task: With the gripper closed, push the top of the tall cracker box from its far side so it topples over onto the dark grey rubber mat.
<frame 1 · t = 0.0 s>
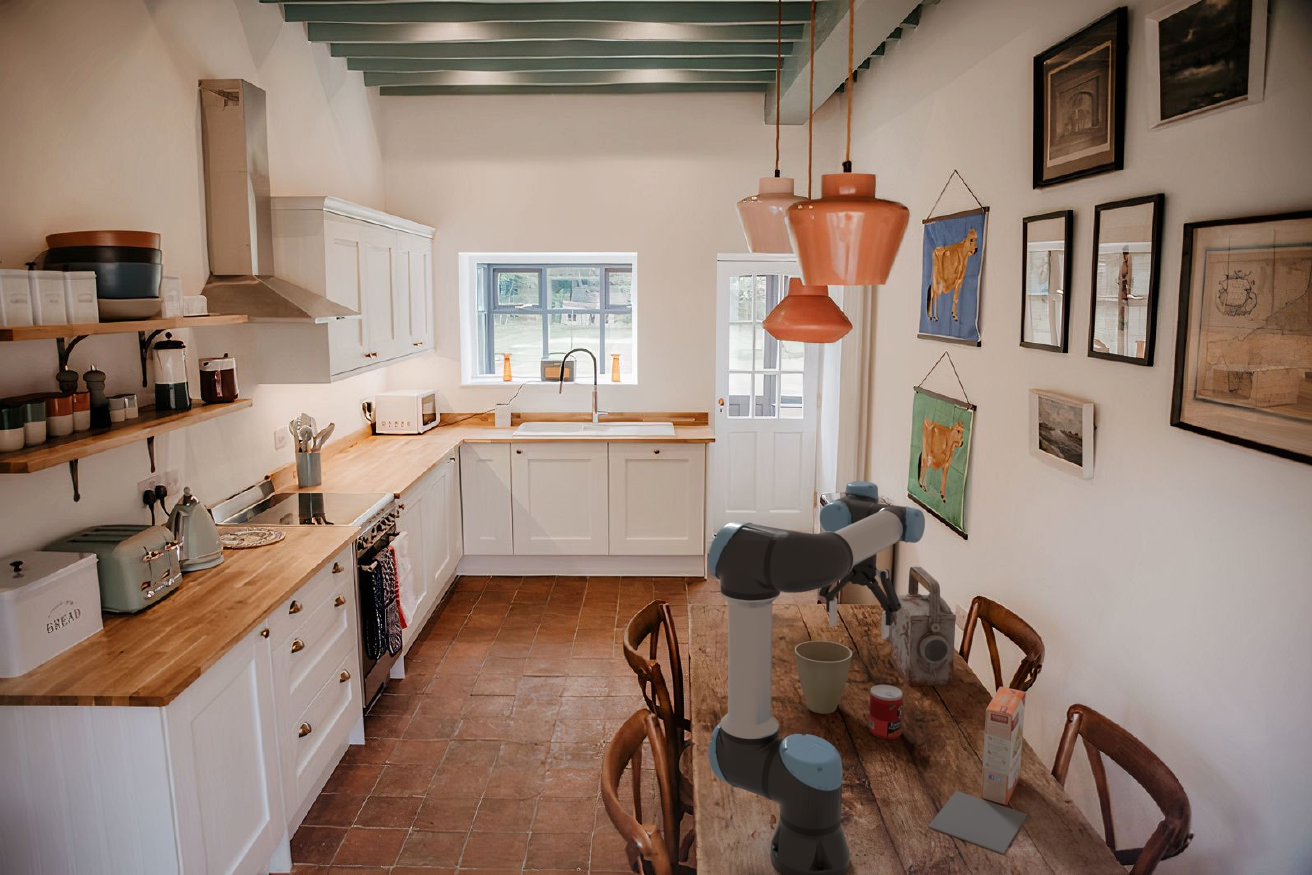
hand: (858, 631, 213), 28 cm above the table, tool pointing down, fingers open, 13 cm apart
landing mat: (978, 821, 182), on the table
plant pot: (822, 708, 234), on the table
lantern: (917, 670, 257), on the table
cracker box: (1001, 789, 194), on the table
canned food: (885, 733, 220), on the table
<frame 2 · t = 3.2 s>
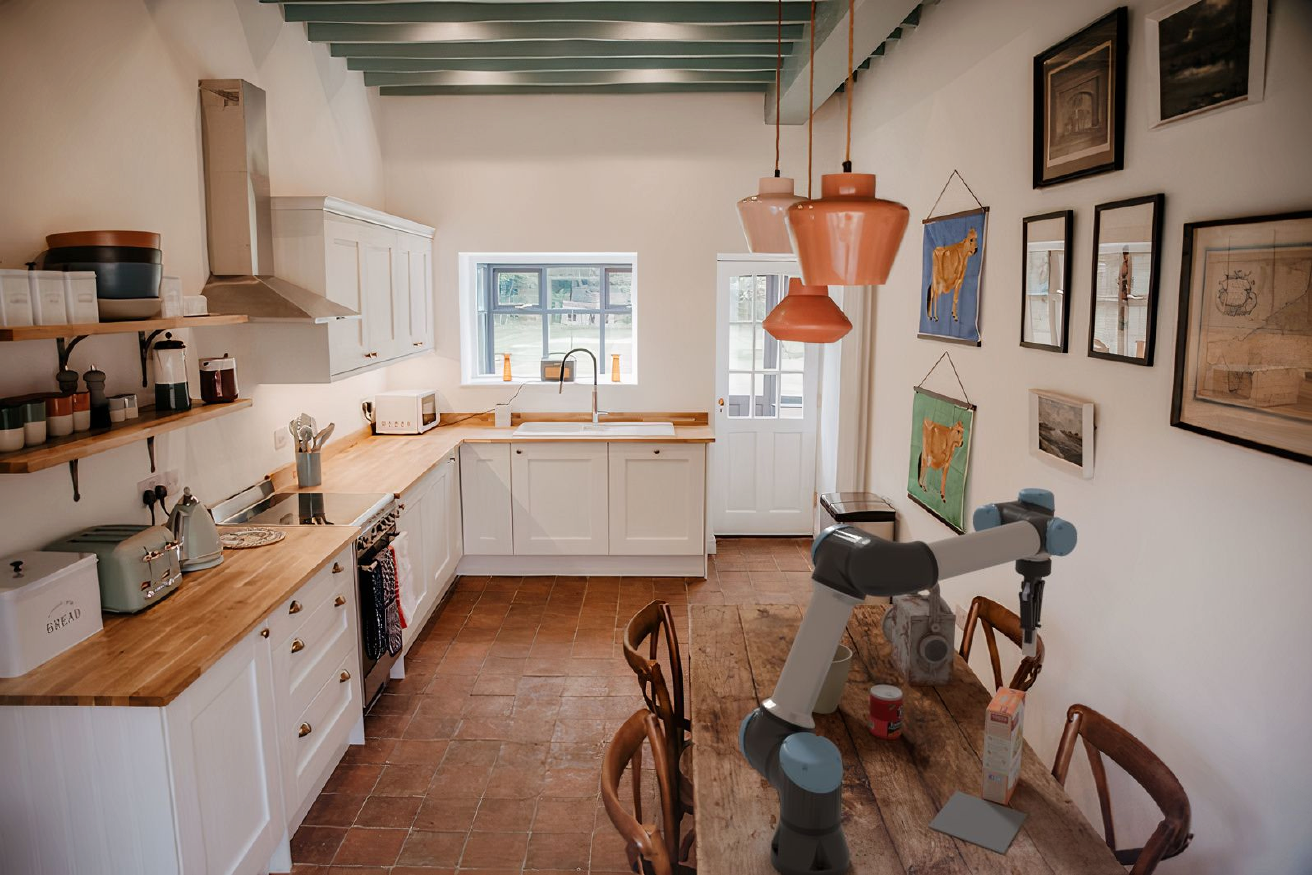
hand: (1028, 654, 203), 26 cm above the table, tool pointing down, fingers closed
nothing on the table moved.
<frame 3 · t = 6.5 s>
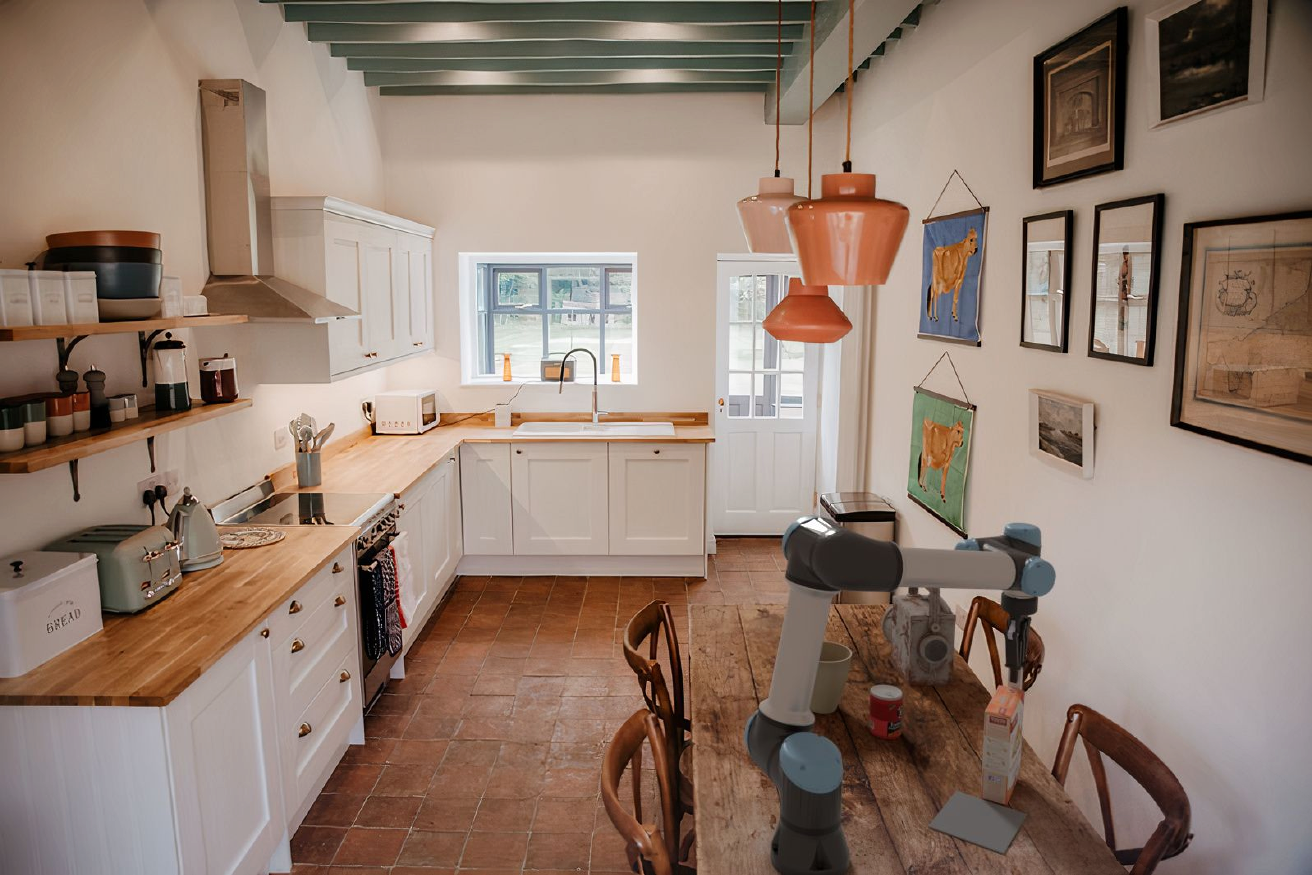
hand: (1014, 694, 197), 20 cm above the table, tool pointing down, fingers closed
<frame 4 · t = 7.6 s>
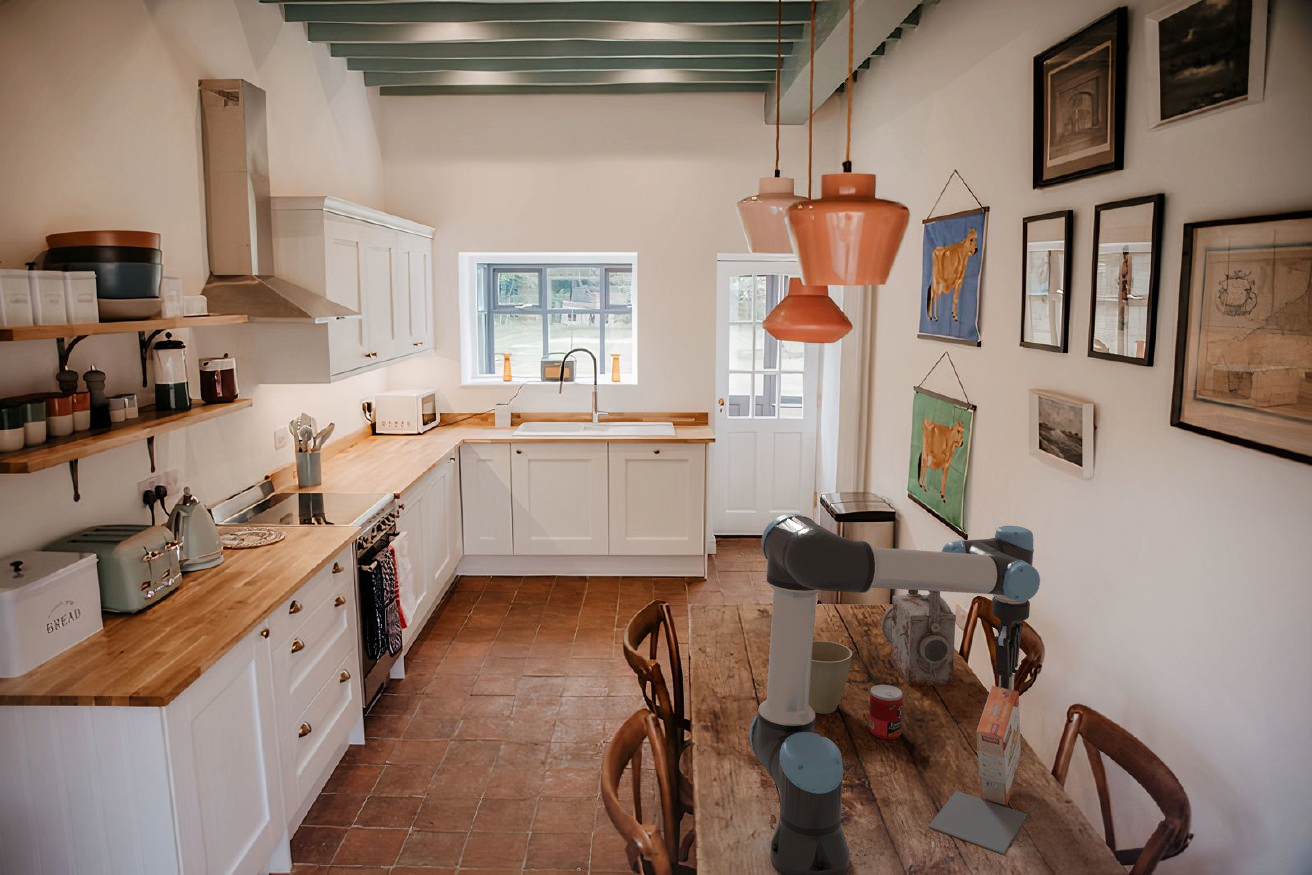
hand: (1005, 702, 192), 20 cm above the table, tool pointing down, fingers closed
cracker box: (1002, 778, 194), point 3 cm above the table, touching gripper
everything else where it was.
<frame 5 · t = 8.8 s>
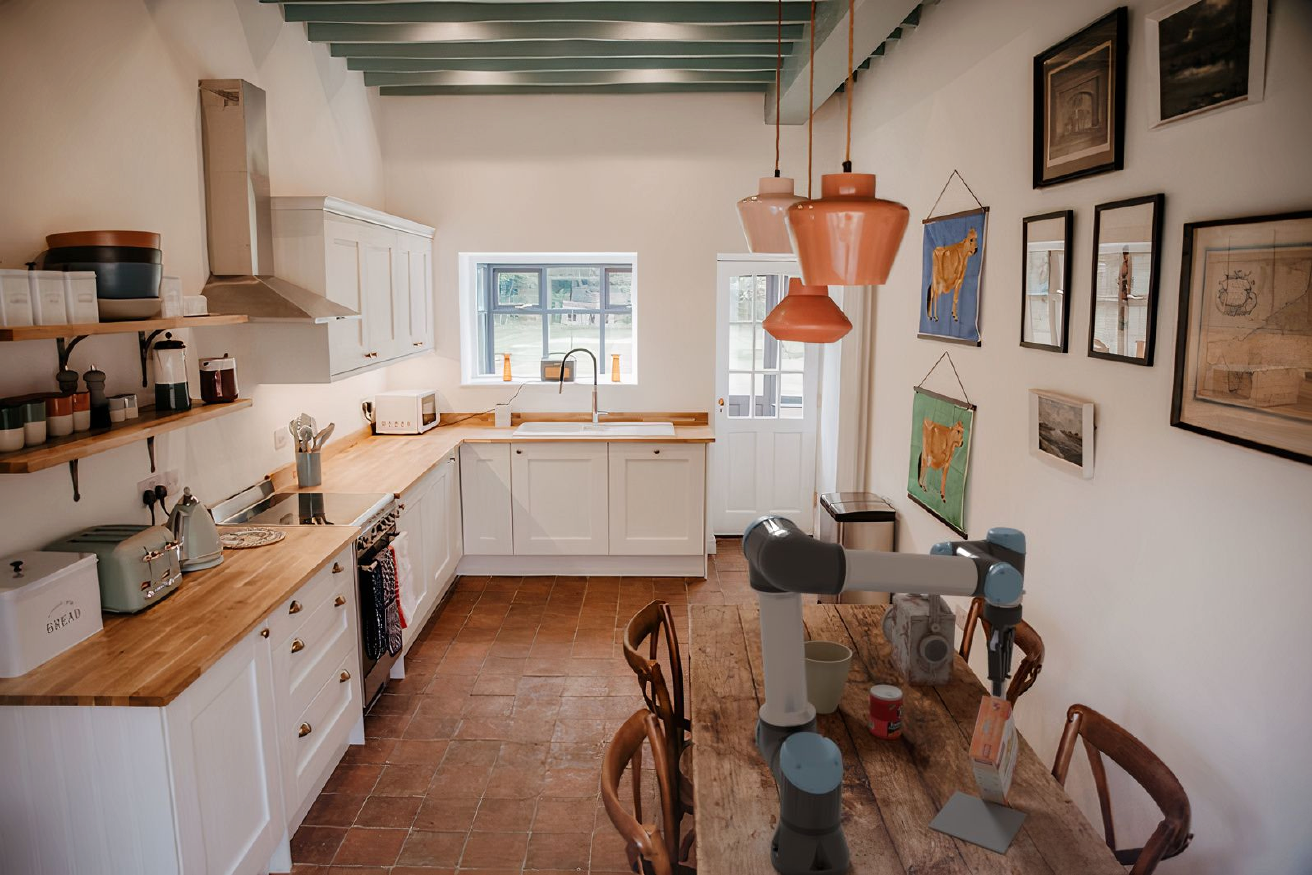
hand: (997, 708, 187), 21 cm above the table, tool pointing down, fingers closed
cracker box: (1001, 773, 193), point 4 cm above the table, touching gripper
everything else where it was.
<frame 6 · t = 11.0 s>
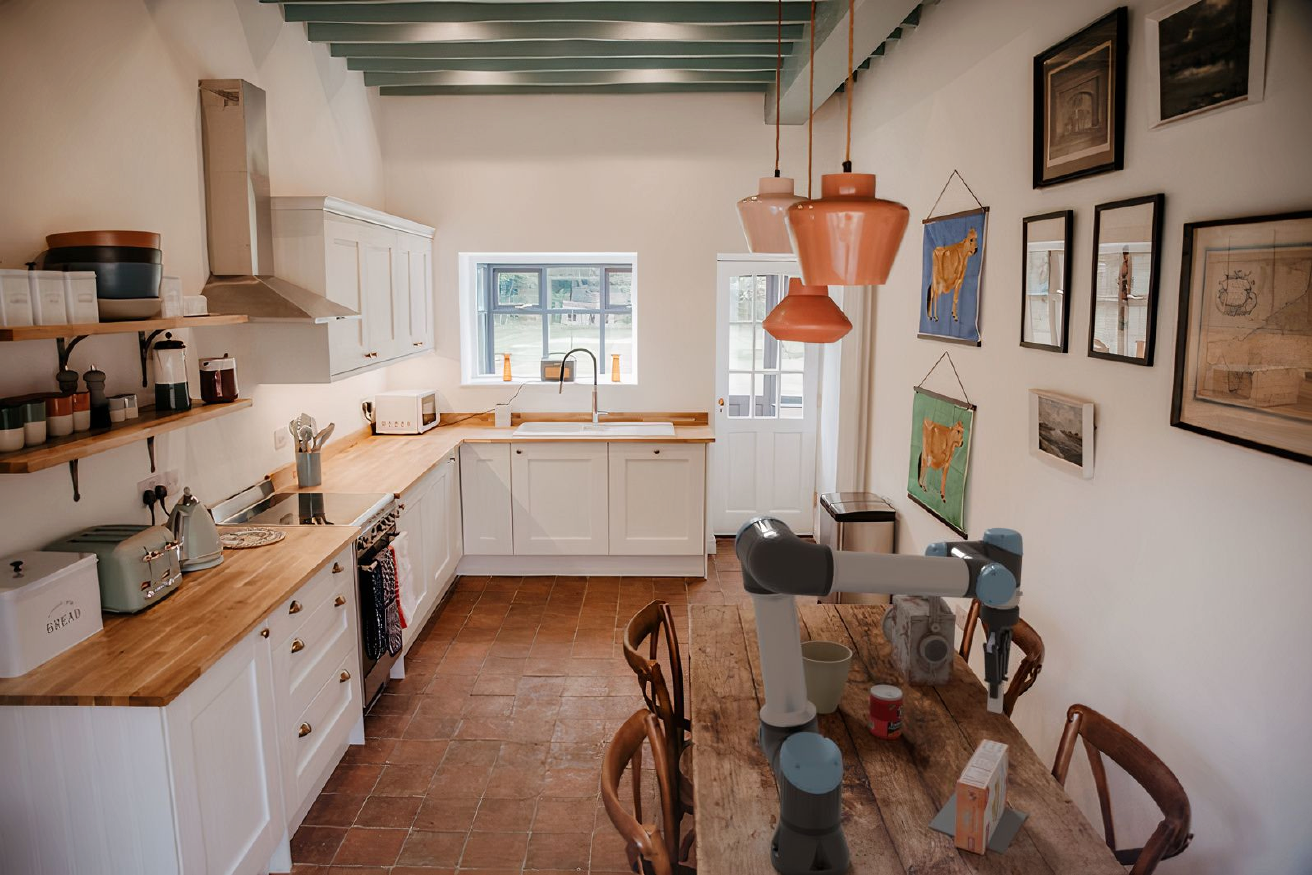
hand: (994, 710, 185), 21 cm above the table, tool pointing down, fingers closed
cracker box: (996, 770, 188), point 7 cm above the table, touching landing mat
everything else where it was.
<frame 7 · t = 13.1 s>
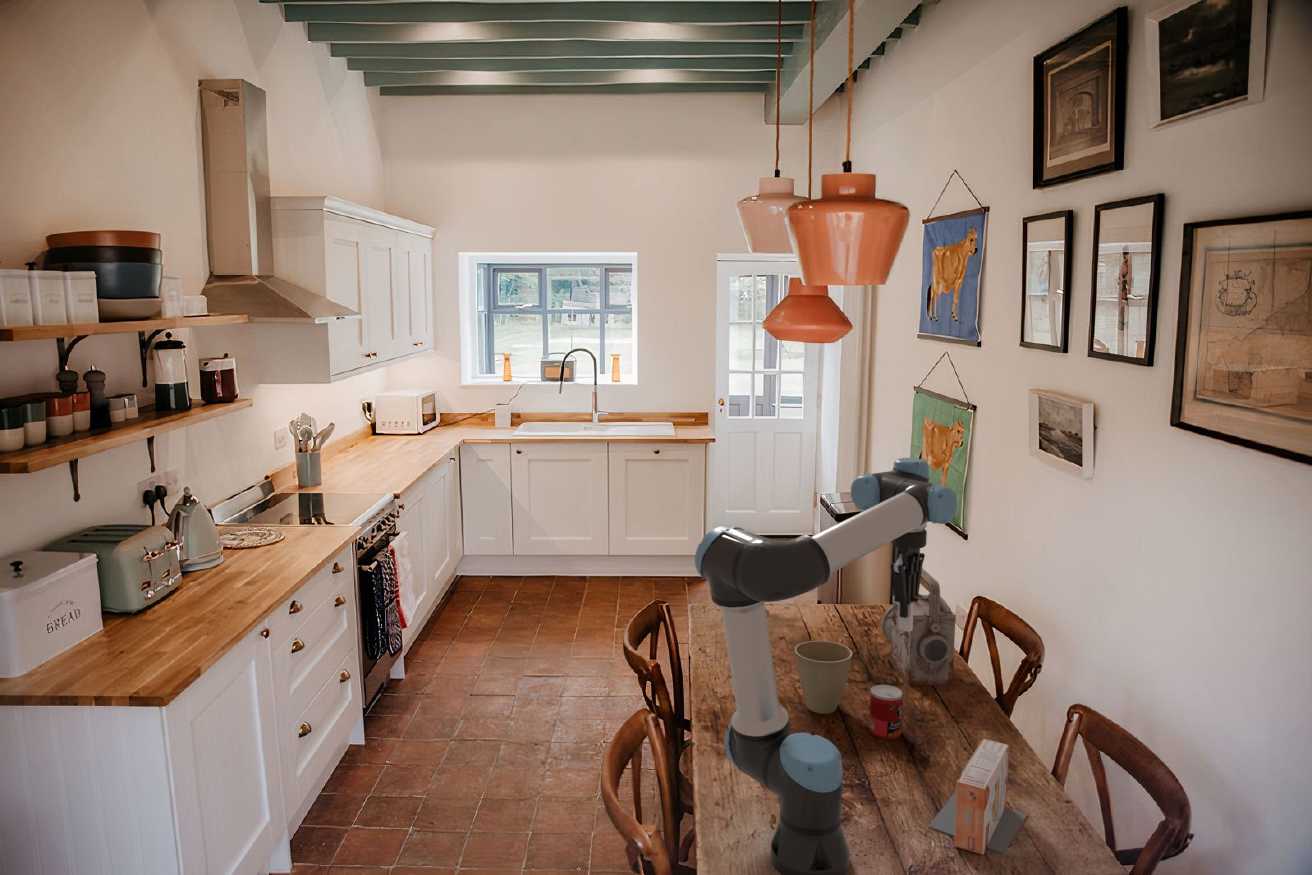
hand: (905, 629, 198), 34 cm above the table, tool pointing down, fingers closed
nothing on the table moved.
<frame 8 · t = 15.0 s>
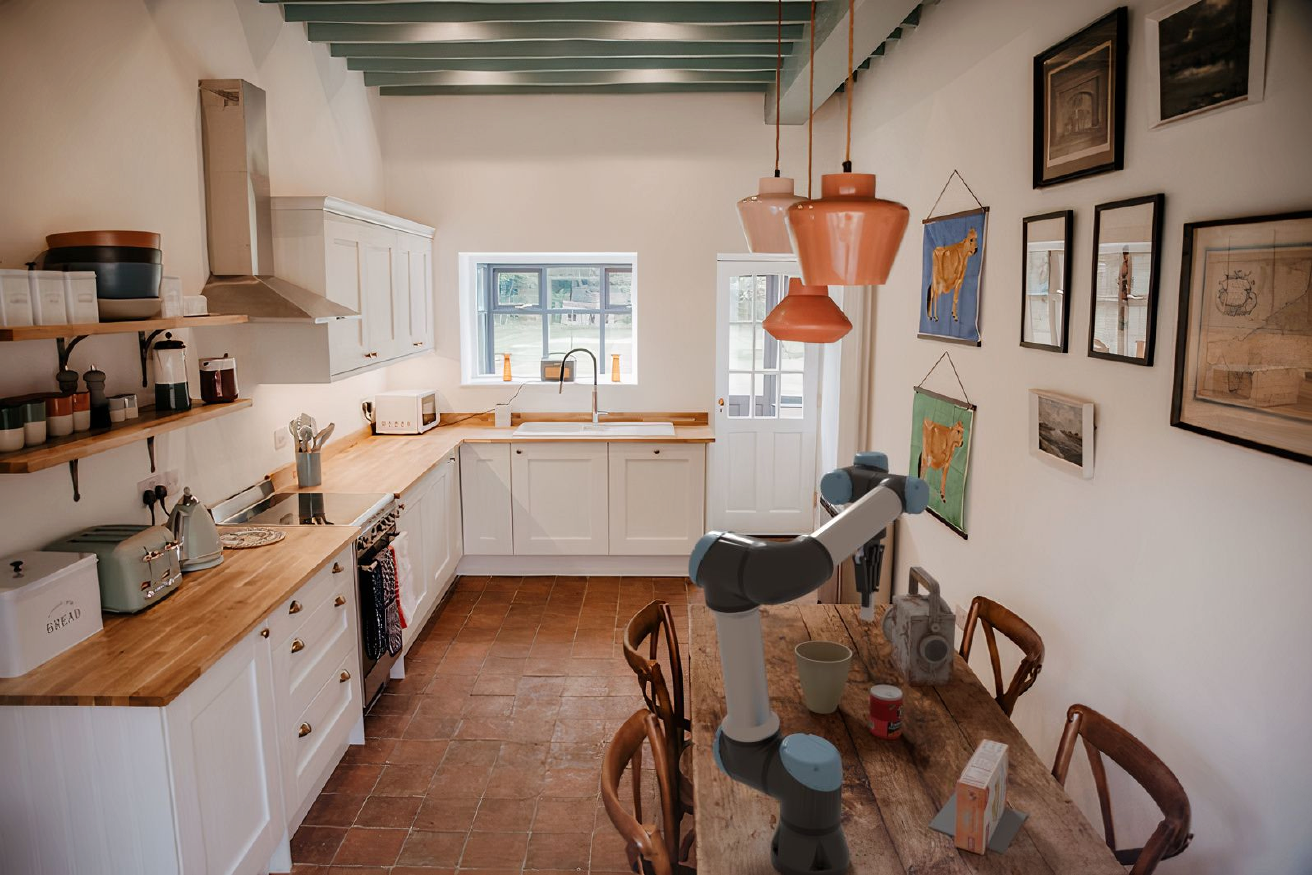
hand: (867, 619, 203), 34 cm above the table, tool pointing down, fingers closed
nothing on the table moved.
at the end: cracker box tilted 91°; cracker box inside the target area (0.8 cm from its centre), point 7.3 cm above the table; the gripper is holding nothing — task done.
